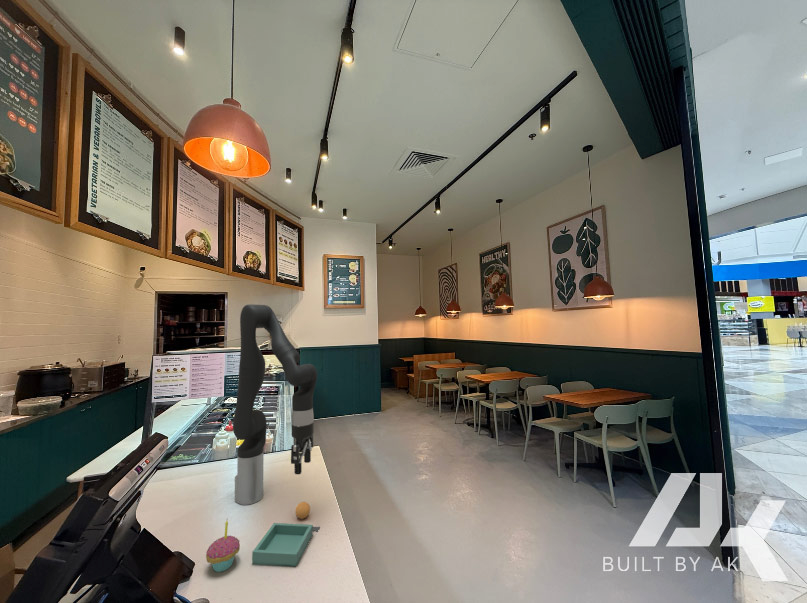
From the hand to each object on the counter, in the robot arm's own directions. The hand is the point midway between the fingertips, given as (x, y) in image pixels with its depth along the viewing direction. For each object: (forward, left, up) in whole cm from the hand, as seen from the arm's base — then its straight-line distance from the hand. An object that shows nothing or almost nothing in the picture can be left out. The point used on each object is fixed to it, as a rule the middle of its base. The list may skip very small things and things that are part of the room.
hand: (302, 467), depth 116 cm
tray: (0, -15, -17) cm, 23 cm away
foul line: (0, -6, -17) cm, 18 cm away
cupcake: (-14, -23, -17) cm, 32 cm away
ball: (0, 0, -15) cm, 15 cm away
